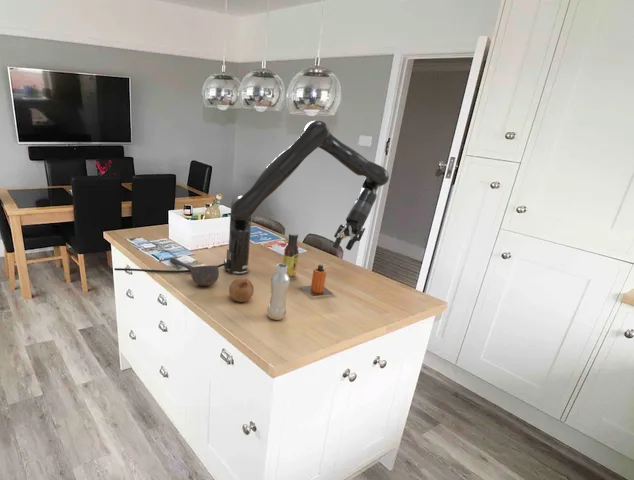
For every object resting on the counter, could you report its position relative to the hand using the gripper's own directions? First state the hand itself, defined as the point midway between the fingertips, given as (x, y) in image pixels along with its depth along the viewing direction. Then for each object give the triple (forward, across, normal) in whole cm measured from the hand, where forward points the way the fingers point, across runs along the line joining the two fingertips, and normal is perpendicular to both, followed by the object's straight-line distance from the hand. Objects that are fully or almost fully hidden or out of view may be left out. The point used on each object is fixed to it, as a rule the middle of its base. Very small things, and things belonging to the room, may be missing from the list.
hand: (341, 248), depth 171 cm
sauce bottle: (+18, -21, -4) cm, 28 cm away
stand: (+20, -4, +1) cm, 21 cm away
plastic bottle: (+38, +12, -20) cm, 45 cm away
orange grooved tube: (+19, -3, +1) cm, 20 cm away
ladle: (+38, -35, -41) cm, 66 cm away
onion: (+38, -5, -28) cm, 47 cm away
